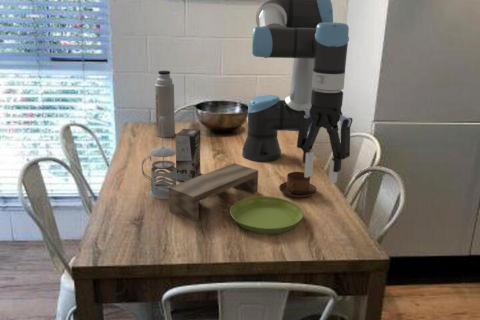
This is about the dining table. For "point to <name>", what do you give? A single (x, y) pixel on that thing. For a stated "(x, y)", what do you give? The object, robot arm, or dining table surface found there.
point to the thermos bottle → (164, 104)
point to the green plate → (266, 214)
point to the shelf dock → (210, 188)
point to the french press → (161, 187)
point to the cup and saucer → (297, 185)
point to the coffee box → (187, 154)
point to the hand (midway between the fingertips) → (320, 179)
